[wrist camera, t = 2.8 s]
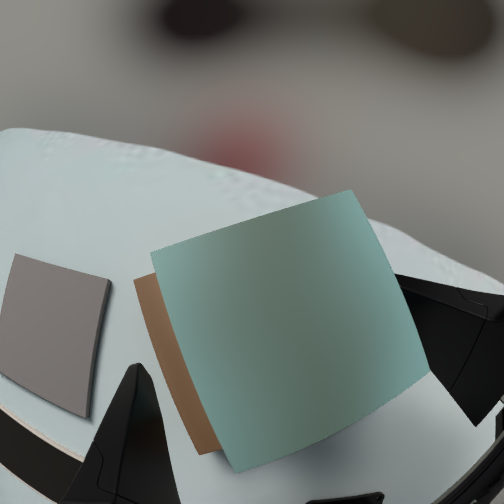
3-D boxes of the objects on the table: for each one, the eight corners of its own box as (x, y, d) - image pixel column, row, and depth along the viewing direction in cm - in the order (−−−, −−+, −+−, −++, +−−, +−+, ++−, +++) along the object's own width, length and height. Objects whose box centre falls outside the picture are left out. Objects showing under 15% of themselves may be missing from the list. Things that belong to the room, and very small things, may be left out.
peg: (269, 295, 18) (350, 189, 6) (295, 358, 17) (430, 370, 5) (204, 319, 17) (150, 252, 5) (229, 384, 16) (235, 473, 4)
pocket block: (292, 240, 20) (302, 222, 17) (350, 378, 17) (371, 382, 14) (147, 290, 18) (133, 279, 15) (203, 439, 15) (199, 455, 12)
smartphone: (109, 526, 11) (105, 531, 10) (-19, 441, 11) (-25, 442, 10) (113, 467, 13) (108, 472, 12) (-21, 382, 13) (-27, 382, 12)
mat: (111, 281, 17) (107, 279, 17) (89, 416, 14) (85, 418, 14) (19, 255, 17) (15, 253, 17) (-2, 367, 14) (-6, 367, 13)
